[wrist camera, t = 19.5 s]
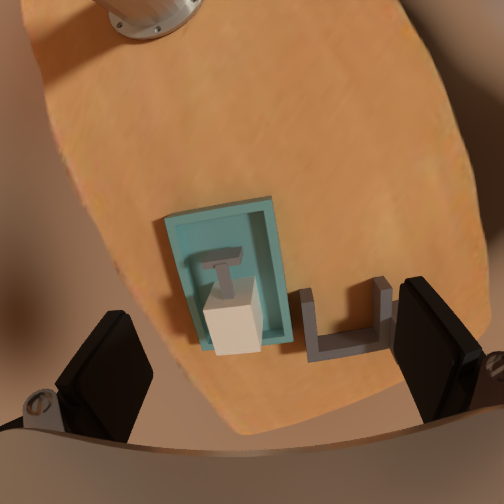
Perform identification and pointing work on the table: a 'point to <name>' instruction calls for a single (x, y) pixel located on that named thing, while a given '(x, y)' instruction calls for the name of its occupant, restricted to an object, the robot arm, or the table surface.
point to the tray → (253, 264)
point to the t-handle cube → (232, 306)
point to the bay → (356, 339)
